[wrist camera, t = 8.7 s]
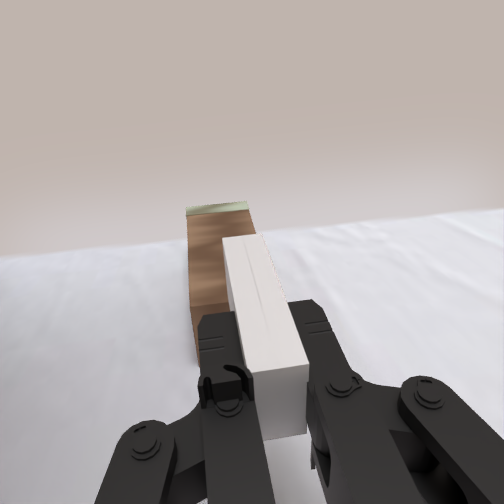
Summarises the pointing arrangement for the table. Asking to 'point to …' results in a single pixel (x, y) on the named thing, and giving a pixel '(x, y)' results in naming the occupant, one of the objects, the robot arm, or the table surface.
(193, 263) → the walnut block
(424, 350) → the table surface
